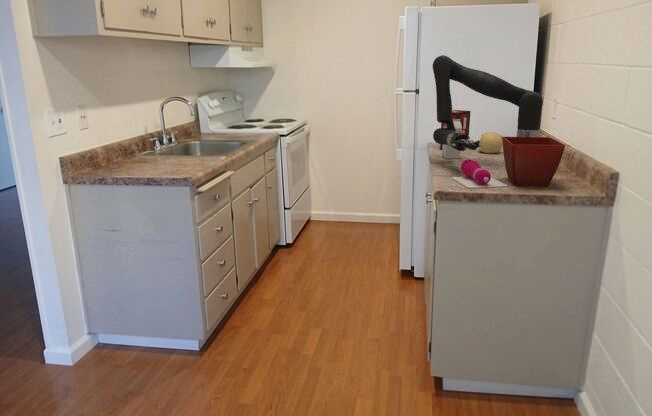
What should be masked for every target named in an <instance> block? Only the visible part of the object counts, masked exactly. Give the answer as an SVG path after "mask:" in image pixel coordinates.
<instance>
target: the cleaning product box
mask: <svg viewBox="0 0 652 416" xmlns="http://www.w3.org/2000/svg"><path fill="white" fill-rule="evenodd" d="M471 113H472V112H471V110H463V109H462V110H460V109H458V110H457V109H454V110H453V109H452V118H453V119H460V122H461V126H462V133H464V134H466V135H468V136H469V137H470V124H471V122H470V121H471ZM444 125H445V124H444V123H440V128H444ZM442 147H443V144H439V151H442Z"/></svg>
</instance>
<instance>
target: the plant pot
mask: <svg viewBox="0 0 652 416" xmlns="http://www.w3.org/2000/svg"><path fill="white" fill-rule="evenodd" d="M565 148H566V144H564V143H562V141H561V142H560V141H558V140H557V139H555V138H553V137H549V136H546V137H545V136H544V137H543V136H539V137H517V136H503V144H502V152H503V153H502V154H503V159H504V160H503V161H504V167H505V171H506V175H507V178H508V180H509V181H510V182H511V183H512V184H513V185H514V186H526V187H529V186H530V187H548V186H549V185H550V183H551V182H552V180H553V178H554V176H555V175H556V172H557V170H558V168H559V165H560V162H561V160H562V157H563V154H564V151H565Z"/></svg>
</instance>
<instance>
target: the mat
mask: <svg viewBox="0 0 652 416" xmlns="http://www.w3.org/2000/svg"><path fill="white" fill-rule="evenodd" d="M450 179H452V180H453V181H455V182H456V183H458V184H460V185H461V186H463V187H465V188H467V189H488V188H508V187H509V186H508V184H505V183H503V182H501V181H499V180H498V179H495V178H493V177H491V179H490V181H489V182H488V183H487V184H485V185H480V184H478V183H477V182H476V181H475V179H474V178H468V177H466V176H465V175H464V176H450Z"/></svg>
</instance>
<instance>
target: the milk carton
mask: <svg viewBox="0 0 652 416" xmlns="http://www.w3.org/2000/svg"><path fill="white" fill-rule="evenodd" d="M453 123H454V127H455V130H456V132H461V133H462V126H461V122H460V119H453ZM444 128H447V126H446V124H445V125H444ZM441 157H443V158H445V159H461V151H458V150H456V149H454V148H452V147H450V146H448V145H444V144H443V147H442V150H441Z"/></svg>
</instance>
